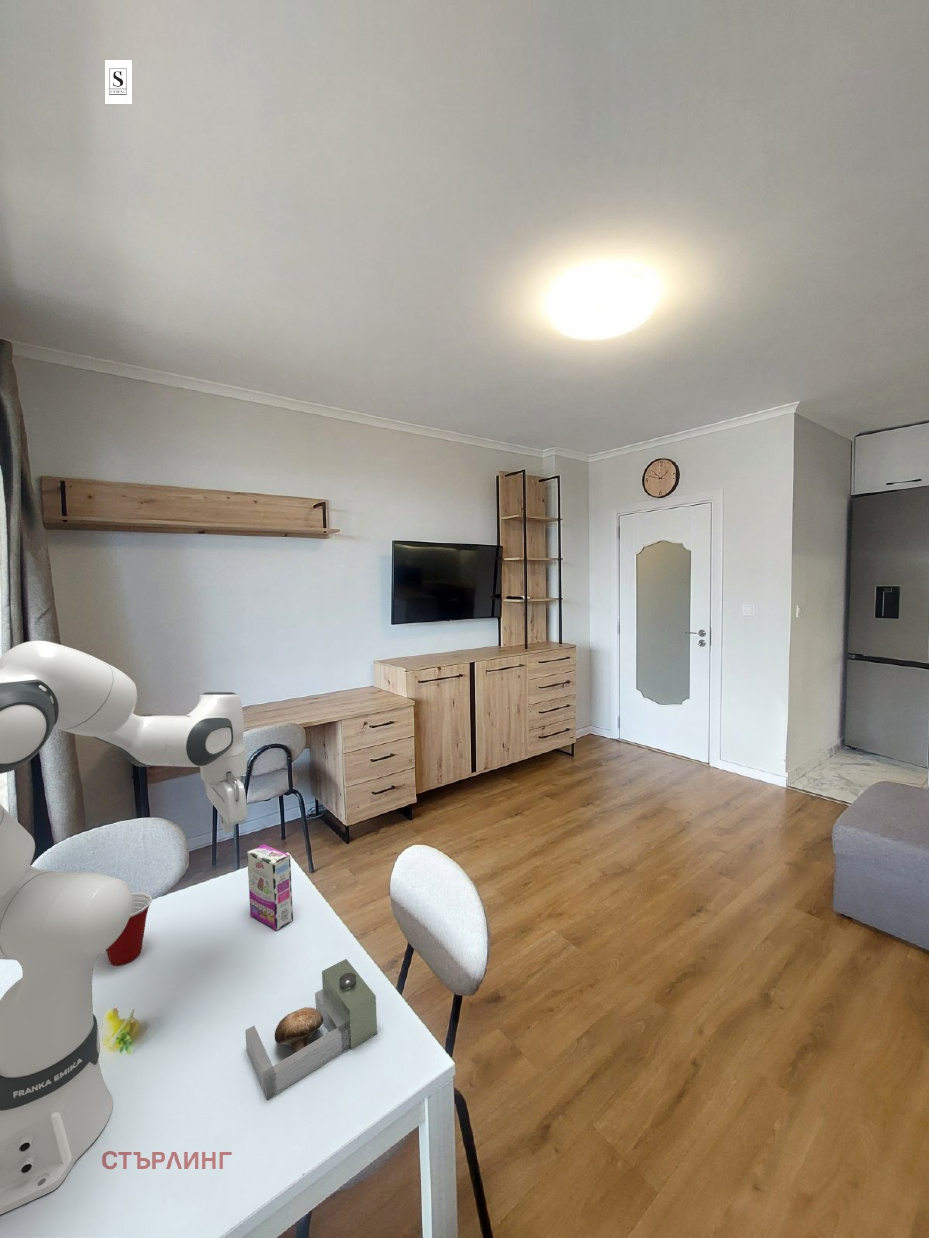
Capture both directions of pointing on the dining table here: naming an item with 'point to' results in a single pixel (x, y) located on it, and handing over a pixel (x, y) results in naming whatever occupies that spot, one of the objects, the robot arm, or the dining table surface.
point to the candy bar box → (270, 886)
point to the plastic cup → (131, 932)
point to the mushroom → (298, 1028)
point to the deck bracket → (343, 1015)
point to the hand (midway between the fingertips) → (227, 830)
